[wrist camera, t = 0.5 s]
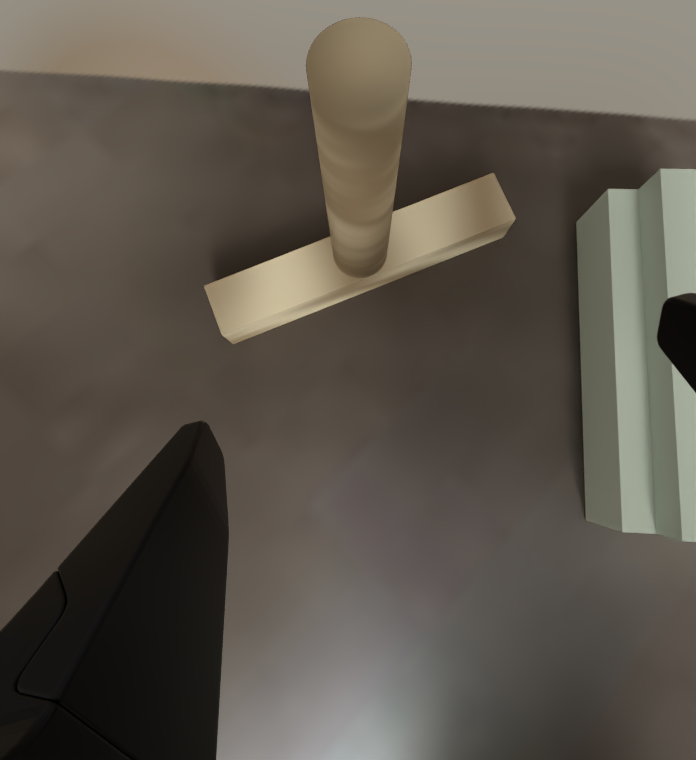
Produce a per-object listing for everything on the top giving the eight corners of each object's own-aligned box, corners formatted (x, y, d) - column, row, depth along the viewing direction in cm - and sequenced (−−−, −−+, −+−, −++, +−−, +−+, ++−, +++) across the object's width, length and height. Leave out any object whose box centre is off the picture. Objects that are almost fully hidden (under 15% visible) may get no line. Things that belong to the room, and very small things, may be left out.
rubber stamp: (482, 195, 24) (615, -84, 11) (502, 238, 23) (663, -2, 11) (217, 299, 23) (53, 129, 11) (233, 344, 23) (83, 221, 10)
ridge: (701, 525, 21) (793, 546, 17) (585, 520, 21) (645, 539, 17) (681, 224, 23) (759, 170, 18) (576, 222, 23) (627, 167, 19)
